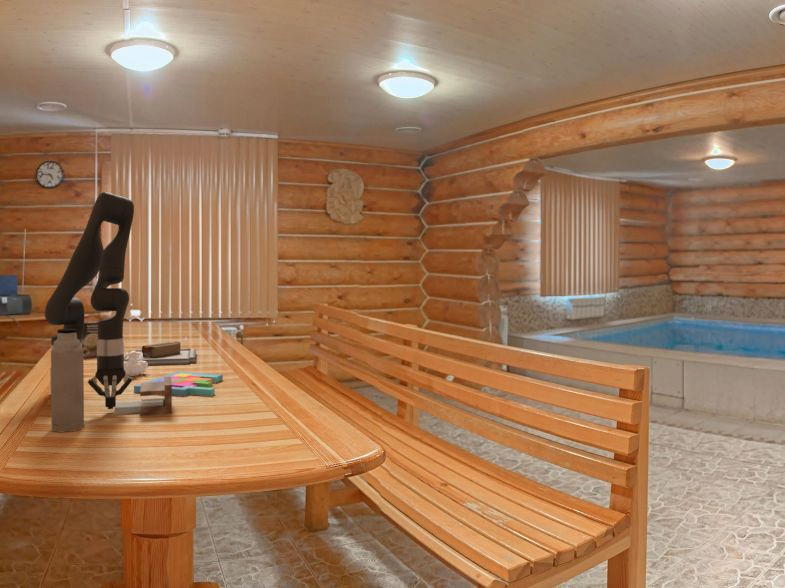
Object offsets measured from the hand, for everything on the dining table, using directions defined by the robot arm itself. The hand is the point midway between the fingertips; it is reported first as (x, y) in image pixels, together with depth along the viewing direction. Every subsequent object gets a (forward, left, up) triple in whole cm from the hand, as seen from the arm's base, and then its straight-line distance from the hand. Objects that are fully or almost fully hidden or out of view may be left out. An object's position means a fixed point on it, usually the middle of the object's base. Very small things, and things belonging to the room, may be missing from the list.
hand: (110, 408), depth 187 cm
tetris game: (+25, +31, -2) cm, 40 cm away
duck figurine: (+4, +58, -2) cm, 58 cm away
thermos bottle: (-10, -15, -1) cm, 18 cm away
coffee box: (-16, +110, -2) cm, 111 cm away
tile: (+8, +1, -2) cm, 8 cm away
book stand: (+15, +94, -2) cm, 95 cm away
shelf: (+12, 0, -1) cm, 12 cm away
